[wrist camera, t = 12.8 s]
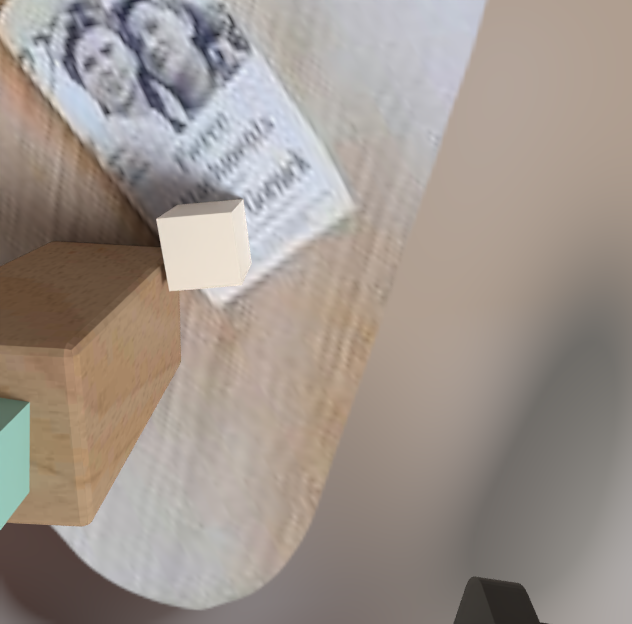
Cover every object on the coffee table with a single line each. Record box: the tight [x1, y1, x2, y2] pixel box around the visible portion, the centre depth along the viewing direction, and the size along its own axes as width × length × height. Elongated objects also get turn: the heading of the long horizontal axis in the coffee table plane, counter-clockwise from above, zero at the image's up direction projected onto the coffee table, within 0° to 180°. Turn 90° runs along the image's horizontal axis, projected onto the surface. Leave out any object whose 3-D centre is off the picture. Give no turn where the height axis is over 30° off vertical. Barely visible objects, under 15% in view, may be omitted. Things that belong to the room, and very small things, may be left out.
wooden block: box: [0, 241, 181, 526], centre depth 36 cm, size 10×10×20 cm
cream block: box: [156, 199, 252, 291], centre depth 41 cm, size 5×5×6 cm
